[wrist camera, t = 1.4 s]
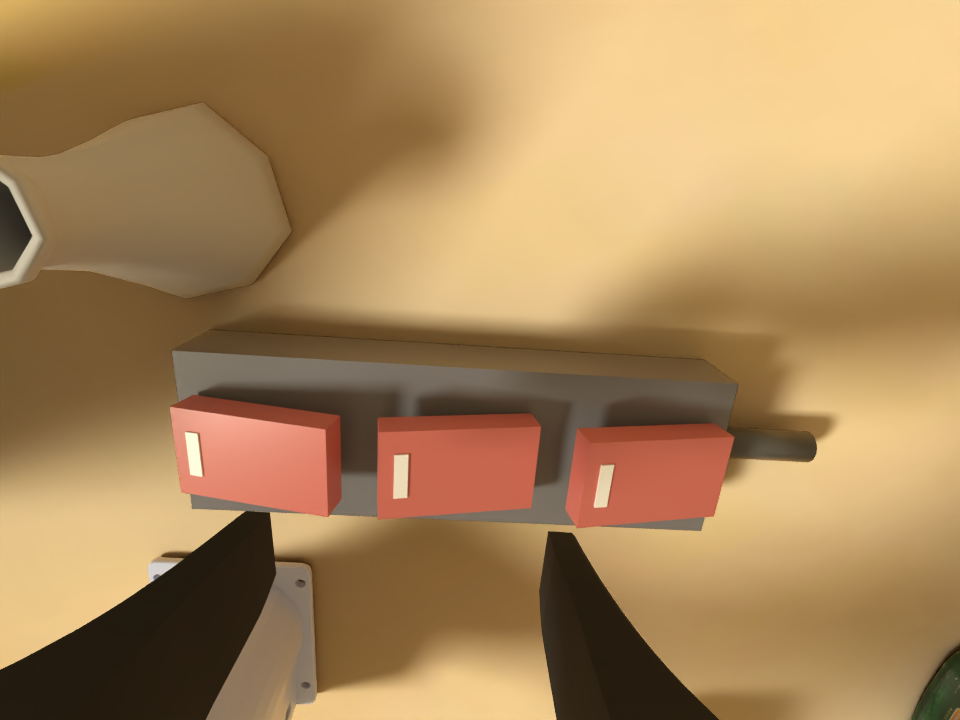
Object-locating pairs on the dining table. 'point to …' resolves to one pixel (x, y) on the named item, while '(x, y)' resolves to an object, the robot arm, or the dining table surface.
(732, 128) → the dining table surface
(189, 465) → the rocker
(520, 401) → the power strip
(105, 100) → the dining table surface
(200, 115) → the flask
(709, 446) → the red rectangular block
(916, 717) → the coffee jar
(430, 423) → the block
